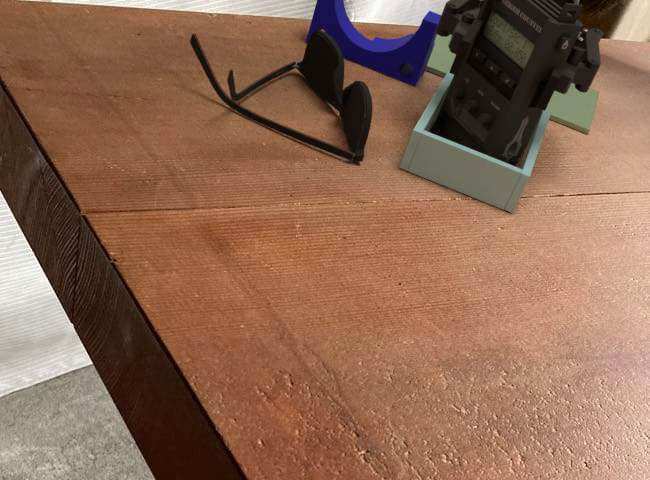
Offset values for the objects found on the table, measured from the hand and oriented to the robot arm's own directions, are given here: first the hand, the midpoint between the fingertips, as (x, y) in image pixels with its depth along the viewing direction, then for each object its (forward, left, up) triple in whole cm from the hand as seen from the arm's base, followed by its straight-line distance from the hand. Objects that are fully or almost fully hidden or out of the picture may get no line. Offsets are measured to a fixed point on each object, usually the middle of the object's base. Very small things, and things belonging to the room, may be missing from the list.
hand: (503, 75), depth 81 cm
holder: (0, -5, -9) cm, 10 cm away
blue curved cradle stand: (+14, -18, -9) cm, 25 cm away
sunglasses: (+18, +2, -9) cm, 20 cm away
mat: (0, -27, -9) cm, 28 cm away
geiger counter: (+1, -5, -9) cm, 10 cm away
